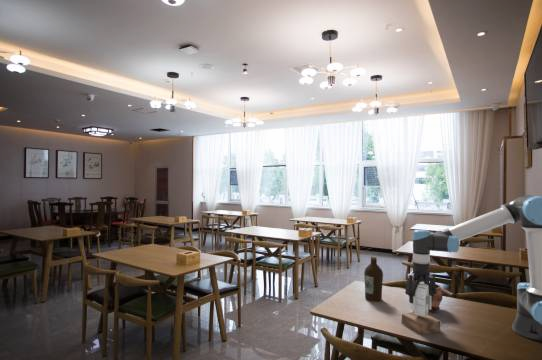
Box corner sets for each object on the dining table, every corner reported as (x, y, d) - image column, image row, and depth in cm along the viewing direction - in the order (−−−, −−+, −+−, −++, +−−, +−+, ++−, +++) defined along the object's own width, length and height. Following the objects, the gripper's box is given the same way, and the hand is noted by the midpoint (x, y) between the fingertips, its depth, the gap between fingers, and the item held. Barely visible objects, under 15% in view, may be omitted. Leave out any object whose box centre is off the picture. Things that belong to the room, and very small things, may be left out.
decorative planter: (440, 319, 165) (440, 292, 165) (414, 313, 172) (415, 287, 172) (443, 306, 182) (444, 281, 182) (420, 302, 189) (420, 278, 189)
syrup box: (416, 310, 160) (416, 281, 160) (428, 313, 157) (429, 283, 157) (412, 313, 156) (412, 283, 156) (425, 317, 152) (426, 286, 152)
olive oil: (373, 294, 200) (373, 254, 200) (386, 300, 191) (387, 258, 191) (360, 297, 195) (360, 256, 195) (373, 303, 186) (373, 260, 186)
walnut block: (421, 320, 164) (421, 311, 164) (440, 331, 153) (440, 320, 153) (401, 323, 160) (401, 313, 160) (420, 335, 149) (420, 324, 149)
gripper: (435, 259, 162) (434, 304, 162) (397, 260, 158) (396, 307, 158) (445, 263, 154) (445, 310, 154) (406, 264, 151) (405, 313, 151)
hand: (420, 309), depth 156 cm, fingers closed on syrup box, 8 cm apart
